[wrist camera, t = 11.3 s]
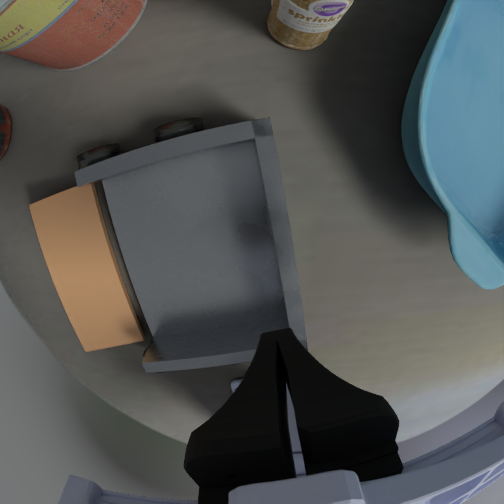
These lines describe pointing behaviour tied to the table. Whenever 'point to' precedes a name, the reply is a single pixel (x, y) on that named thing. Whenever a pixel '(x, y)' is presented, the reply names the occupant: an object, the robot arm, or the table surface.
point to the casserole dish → (463, 132)
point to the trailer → (203, 239)
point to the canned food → (66, 29)
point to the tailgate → (85, 268)
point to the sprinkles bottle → (304, 21)
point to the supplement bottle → (4, 130)
